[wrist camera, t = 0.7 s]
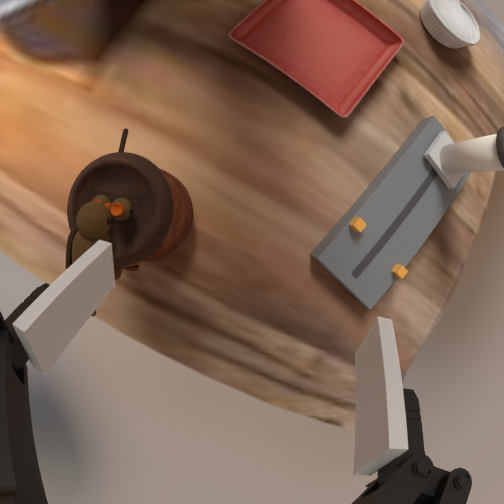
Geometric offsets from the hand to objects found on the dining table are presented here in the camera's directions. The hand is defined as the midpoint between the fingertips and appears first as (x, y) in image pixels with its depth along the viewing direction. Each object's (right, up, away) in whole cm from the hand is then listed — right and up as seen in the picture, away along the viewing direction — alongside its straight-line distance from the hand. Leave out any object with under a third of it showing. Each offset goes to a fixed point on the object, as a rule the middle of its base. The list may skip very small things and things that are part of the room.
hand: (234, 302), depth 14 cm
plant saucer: (+10, +31, +21) cm, 38 cm away
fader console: (+20, +8, +24) cm, 33 cm away
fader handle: (+27, +15, +21) cm, 37 cm away
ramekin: (+33, +41, +21) cm, 57 cm away
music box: (-11, +8, +22) cm, 26 cm away
